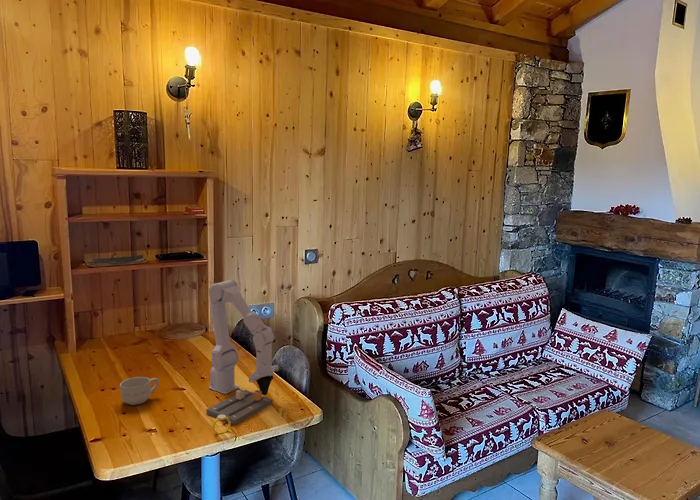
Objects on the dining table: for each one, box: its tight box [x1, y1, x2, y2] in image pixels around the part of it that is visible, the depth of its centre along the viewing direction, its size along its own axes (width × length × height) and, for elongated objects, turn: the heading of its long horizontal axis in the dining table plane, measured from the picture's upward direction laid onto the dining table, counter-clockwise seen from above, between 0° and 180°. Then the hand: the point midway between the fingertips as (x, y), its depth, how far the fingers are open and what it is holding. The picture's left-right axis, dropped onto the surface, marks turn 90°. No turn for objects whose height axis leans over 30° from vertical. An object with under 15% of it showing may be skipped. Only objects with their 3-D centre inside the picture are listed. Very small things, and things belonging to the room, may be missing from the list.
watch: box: [211, 415, 232, 435], centre depth 175 cm, size 6×3×6 cm, turn 122°
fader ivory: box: [235, 388, 245, 400], centre depth 196 cm, size 2×2×3 cm
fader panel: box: [205, 389, 274, 426], centre depth 192 cm, size 14×20×2 cm
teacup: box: [119, 376, 160, 406], centre depth 196 cm, size 14×11×8 cm
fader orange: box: [253, 389, 263, 401], centre depth 195 cm, size 2×2×3 cm
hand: (264, 394), depth 198 cm, fingers closed
